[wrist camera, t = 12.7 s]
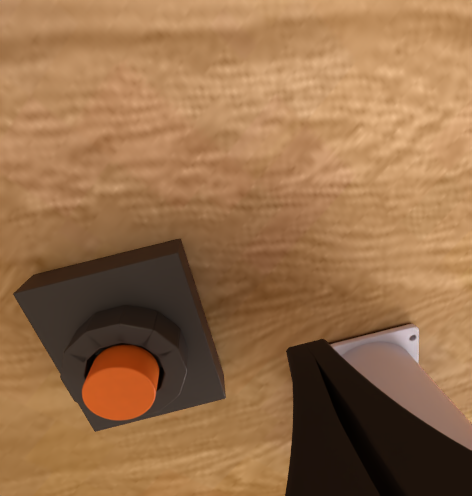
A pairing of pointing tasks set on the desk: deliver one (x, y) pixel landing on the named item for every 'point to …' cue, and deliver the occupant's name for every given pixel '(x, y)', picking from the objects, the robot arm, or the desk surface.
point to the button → (121, 382)
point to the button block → (128, 324)
